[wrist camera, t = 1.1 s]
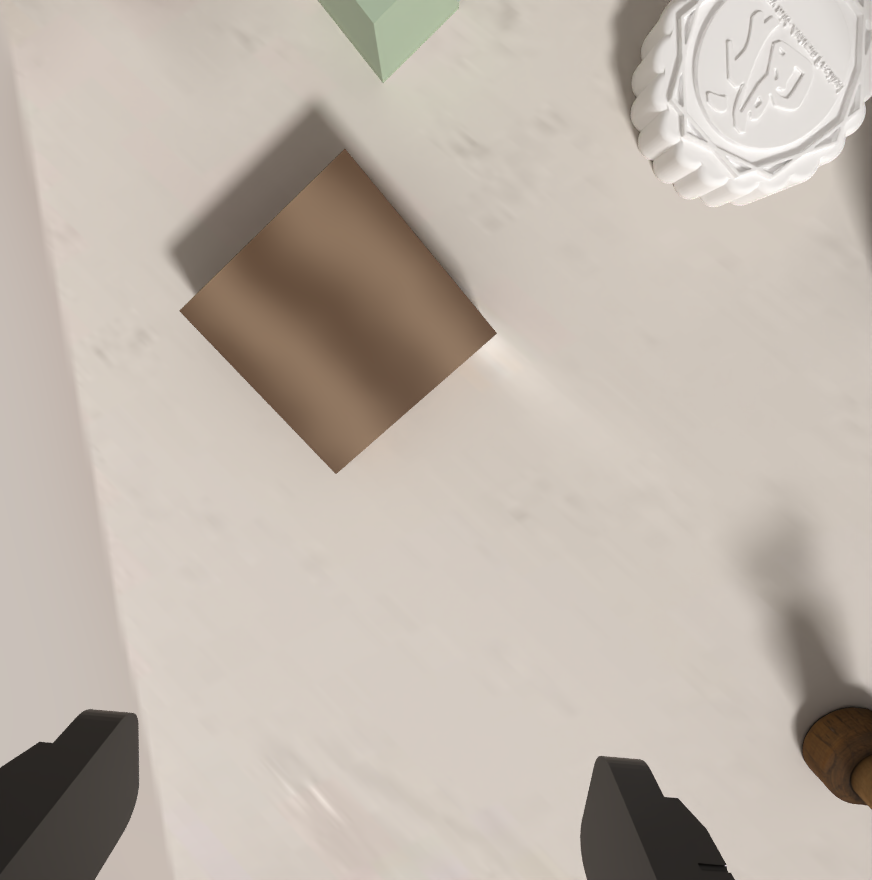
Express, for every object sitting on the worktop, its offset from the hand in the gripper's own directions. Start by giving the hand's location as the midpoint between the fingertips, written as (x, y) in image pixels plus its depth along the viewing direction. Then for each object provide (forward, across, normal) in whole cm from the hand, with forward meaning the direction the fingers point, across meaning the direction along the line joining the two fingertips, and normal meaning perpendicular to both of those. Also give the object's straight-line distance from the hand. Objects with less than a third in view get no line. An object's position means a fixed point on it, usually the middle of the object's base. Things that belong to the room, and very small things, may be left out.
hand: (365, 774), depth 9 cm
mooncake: (+25, -16, -23) cm, 37 cm away
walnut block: (+24, +5, -8) cm, 26 cm away
